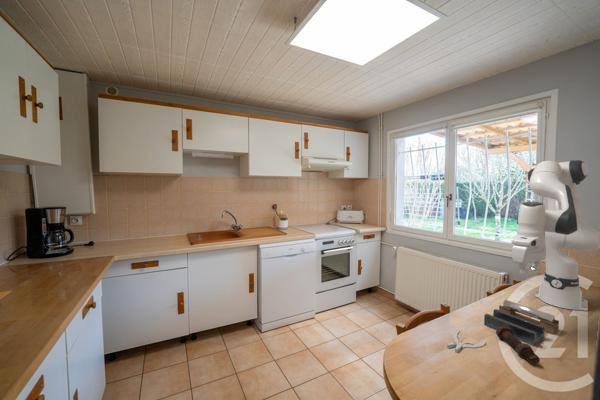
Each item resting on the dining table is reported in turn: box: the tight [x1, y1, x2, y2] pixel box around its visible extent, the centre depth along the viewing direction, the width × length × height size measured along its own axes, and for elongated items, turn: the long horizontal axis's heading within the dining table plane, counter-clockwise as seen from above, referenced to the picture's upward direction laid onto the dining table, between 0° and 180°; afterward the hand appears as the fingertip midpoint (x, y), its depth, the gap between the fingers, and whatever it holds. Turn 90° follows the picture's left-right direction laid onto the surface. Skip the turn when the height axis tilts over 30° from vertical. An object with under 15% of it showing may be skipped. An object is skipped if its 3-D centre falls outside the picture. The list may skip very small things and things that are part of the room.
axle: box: [502, 299, 556, 323], centre depth 107 cm, size 16×4×4 cm, turn 30°
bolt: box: [495, 326, 541, 365], centre depth 88 cm, size 6×5×15 cm
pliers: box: [446, 329, 487, 354], centre depth 92 cm, size 10×2×15 cm
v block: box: [483, 308, 545, 347], centre depth 100 cm, size 10×16×4 cm, turn 30°
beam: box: [498, 304, 560, 335], centre depth 107 cm, size 6×18×4 cm, turn 30°
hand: (529, 271), depth 106 cm, fingers open, 8 cm apart
